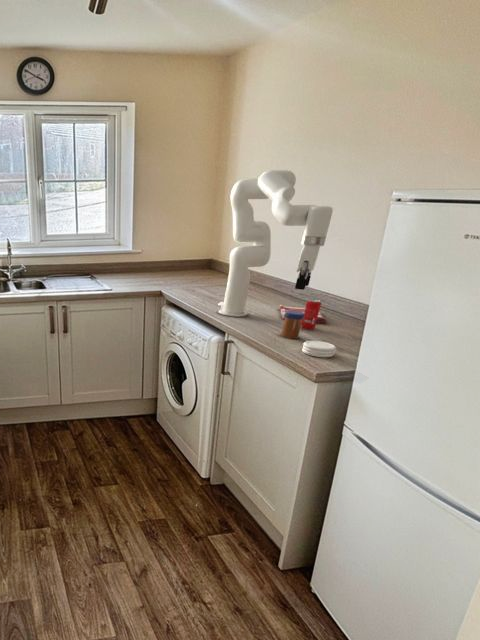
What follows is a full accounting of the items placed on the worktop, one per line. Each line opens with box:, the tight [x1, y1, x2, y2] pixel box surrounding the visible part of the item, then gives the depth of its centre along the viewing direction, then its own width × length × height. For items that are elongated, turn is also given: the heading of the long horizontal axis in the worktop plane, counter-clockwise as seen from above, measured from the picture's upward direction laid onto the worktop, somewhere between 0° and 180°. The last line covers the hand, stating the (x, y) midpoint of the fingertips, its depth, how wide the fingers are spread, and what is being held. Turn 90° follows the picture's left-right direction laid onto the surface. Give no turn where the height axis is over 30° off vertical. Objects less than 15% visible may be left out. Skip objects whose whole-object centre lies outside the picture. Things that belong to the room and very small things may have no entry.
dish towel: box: [278, 304, 327, 324], centre depth 214 cm, size 17×23×3 cm
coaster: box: [301, 340, 337, 359], centre depth 165 cm, size 10×10×4 cm
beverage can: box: [301, 299, 322, 331], centre depth 194 cm, size 5×5×12 cm
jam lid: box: [285, 311, 305, 319], centre depth 181 cm, size 7×7×2 cm
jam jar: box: [280, 317, 302, 340], centre depth 183 cm, size 6×6×10 cm
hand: (301, 287), depth 177 cm, fingers open, 8 cm apart
